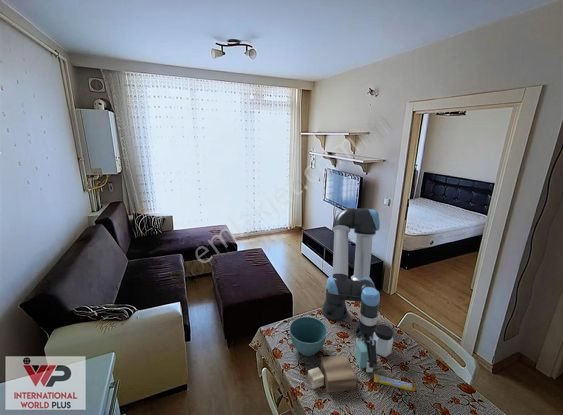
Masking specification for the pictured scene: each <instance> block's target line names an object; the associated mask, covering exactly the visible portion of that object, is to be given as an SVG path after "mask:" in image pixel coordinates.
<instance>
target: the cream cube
mask: <svg viewBox="0 0 563 415" xmlns="http://www.w3.org/2000/svg"><path fill="white" fill-rule="evenodd" d="M307 380H308V381H307V382H309V385H310V386H311V388H312V389H313V390H315V389H318V388H320V387H323V386H324V385H325V381H324V376H323V374H322V371H321V368H319V366H317V367H314V368H311V369H309V370H307Z"/></svg>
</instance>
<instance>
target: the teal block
mask: <svg viewBox="0 0 563 415" xmlns="http://www.w3.org/2000/svg"><path fill="white" fill-rule="evenodd" d="M355 342H356V341H355ZM367 342H370V341H367ZM354 353H355V354H354V358H355V360H356V363H357V366H358V367H359V368H360V369H361V368H362V369H363V368H367V359H368V353H367V346H366V344H365V341H362V342H356V343H355V352H354Z"/></svg>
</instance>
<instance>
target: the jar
mask: <svg viewBox="0 0 563 415" xmlns="http://www.w3.org/2000/svg"><path fill="white" fill-rule="evenodd" d="M373 340H376V355H379V356H381V357H384V358H386V357H387V356H389V355H390V354H392V349H393V344H394V343H393V342H394V331H393V329H392V328H391V327H390V326H388V325H386V324H381V323H380V324H377V325H376V331H375V332H374V333H373Z"/></svg>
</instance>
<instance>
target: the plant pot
mask: <svg viewBox="0 0 563 415" xmlns="http://www.w3.org/2000/svg"><path fill="white" fill-rule="evenodd" d="M327 334H328V328H327V326H326V325H325V324H324V322H323V321H322V320H320V319H317V318H315V317H311V316H301V317H300V316H299V317H298V318H295V319H294V320H292V322H291V323H290V325H289V336H290V340H291V343H292V344H293V346H294V348H295V350H296V351H298V353H300V354H301V355H303V356H305V357H312V356H314V355H316V354H317V353H318V352H319V351H321V349H322V348H323V346H324V344H325V342H326V339H327Z"/></svg>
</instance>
